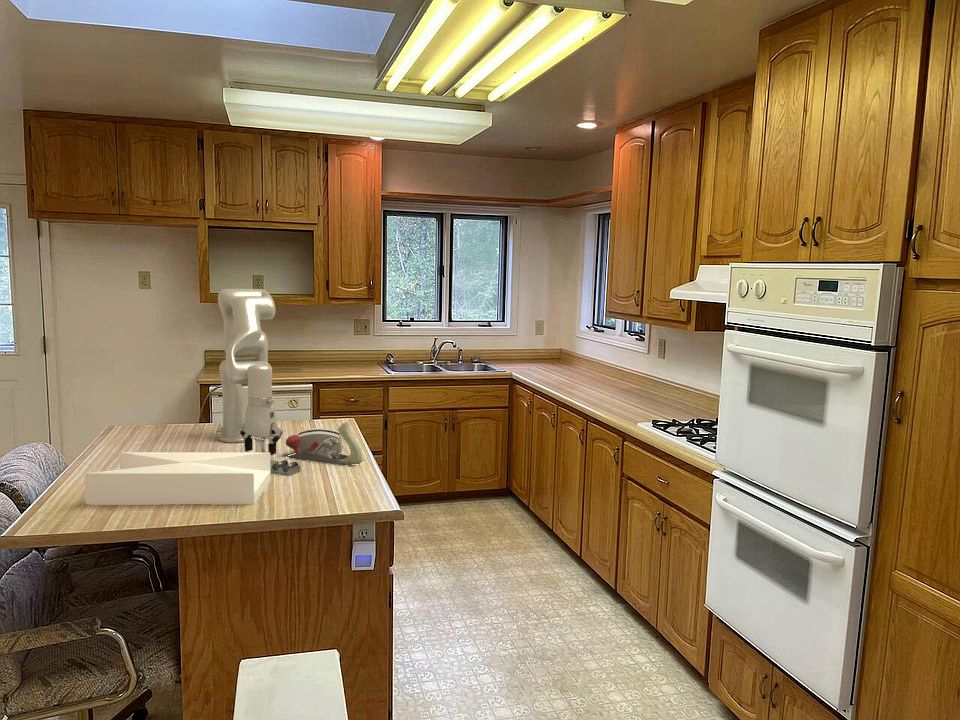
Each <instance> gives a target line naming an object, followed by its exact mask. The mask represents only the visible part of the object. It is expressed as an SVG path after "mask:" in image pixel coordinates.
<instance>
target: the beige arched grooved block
mask: <svg viewBox="0 0 960 720" xmlns="http://www.w3.org/2000/svg"><path fill="white" fill-rule="evenodd" d="M297 436H299V437H300V445H299V447H300V449H301V451H304V450H307V449H308V448H309V447H310V446H311V445H312V444H313V443H314V442H315V441H316V440H317V441H318V442H319V444H321V443H322V442H323V441H325V440H327V439H330V438H332V437H333V438H337V439H338V441H339V443H337V444H336V445H334V446H333V447H332V449H334V450H336V451H338V453H343V447H344V446H343V443H342V436H341V434H340V433H339V431H338V430H335V429H330V428H322V427H316V428H315V427H313V428H308V429H303V430H301V431H299V432H298V434H297Z"/></svg>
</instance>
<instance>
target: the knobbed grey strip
mask: <svg viewBox="0 0 960 720" xmlns="http://www.w3.org/2000/svg"><path fill="white" fill-rule="evenodd" d="M270 471H271V473H272V472H274V473H273V474H279V473H281V474H280V475H285V474H287V475H286V476H293V475H295V474H298V473H300V472H301V465H300V464H299V462H297V461H292V462H290V463H289V462H288V460H287V459H284V460H281V461H279V460H274V459H273V460H272V459H270Z"/></svg>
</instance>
